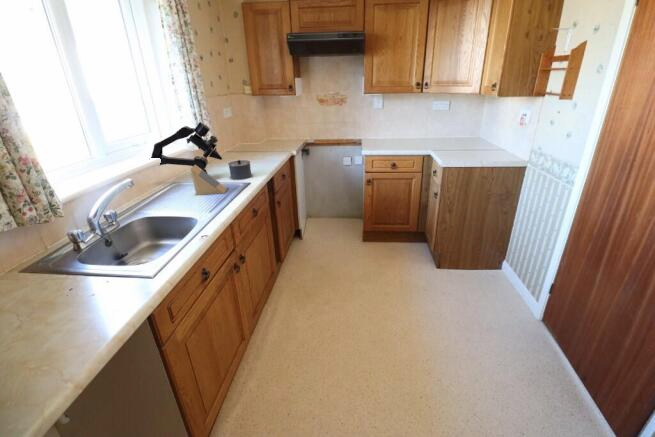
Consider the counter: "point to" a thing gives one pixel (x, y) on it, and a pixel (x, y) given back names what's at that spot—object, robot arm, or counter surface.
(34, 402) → the counter surface
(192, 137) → the robot arm
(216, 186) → the sandwich container
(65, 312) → the counter surface
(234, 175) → the stockpot
